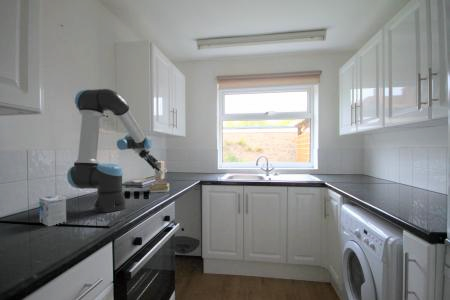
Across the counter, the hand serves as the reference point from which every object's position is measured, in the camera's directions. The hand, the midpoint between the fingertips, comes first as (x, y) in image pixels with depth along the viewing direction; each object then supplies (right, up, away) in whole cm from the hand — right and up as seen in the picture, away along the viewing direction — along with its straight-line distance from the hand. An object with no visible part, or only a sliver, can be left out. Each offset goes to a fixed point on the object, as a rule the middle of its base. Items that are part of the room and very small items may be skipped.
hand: (164, 172), depth 171 cm
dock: (-3, -13, 0) cm, 13 cm away
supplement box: (-3, -5, 0) cm, 6 cm away
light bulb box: (-30, -15, -70) cm, 77 cm away
